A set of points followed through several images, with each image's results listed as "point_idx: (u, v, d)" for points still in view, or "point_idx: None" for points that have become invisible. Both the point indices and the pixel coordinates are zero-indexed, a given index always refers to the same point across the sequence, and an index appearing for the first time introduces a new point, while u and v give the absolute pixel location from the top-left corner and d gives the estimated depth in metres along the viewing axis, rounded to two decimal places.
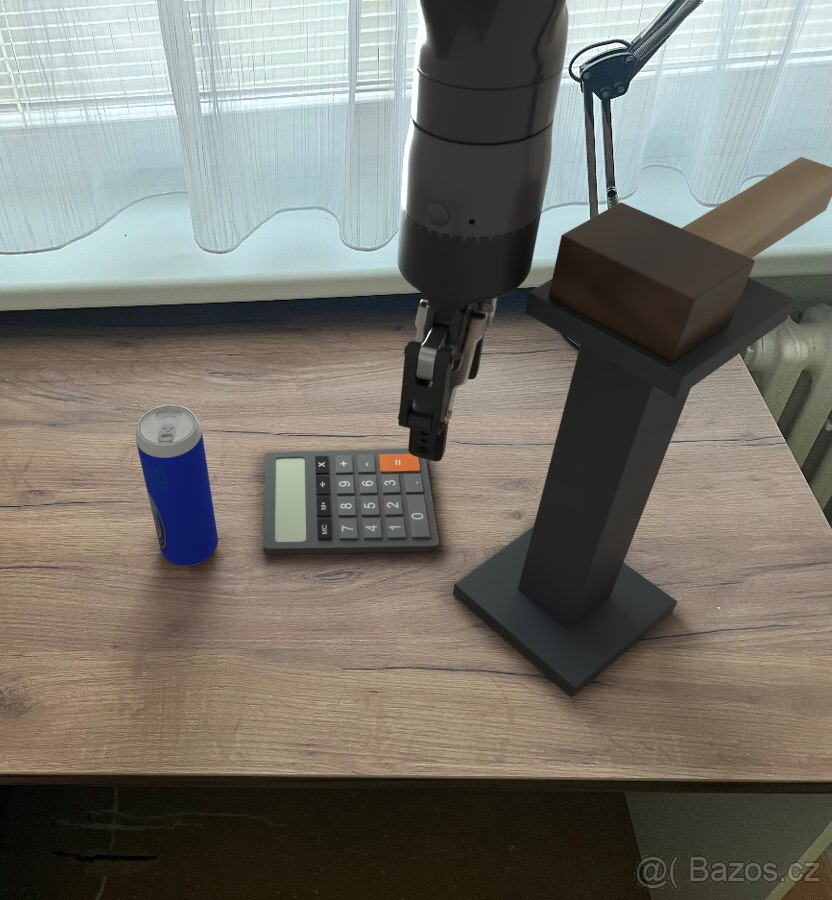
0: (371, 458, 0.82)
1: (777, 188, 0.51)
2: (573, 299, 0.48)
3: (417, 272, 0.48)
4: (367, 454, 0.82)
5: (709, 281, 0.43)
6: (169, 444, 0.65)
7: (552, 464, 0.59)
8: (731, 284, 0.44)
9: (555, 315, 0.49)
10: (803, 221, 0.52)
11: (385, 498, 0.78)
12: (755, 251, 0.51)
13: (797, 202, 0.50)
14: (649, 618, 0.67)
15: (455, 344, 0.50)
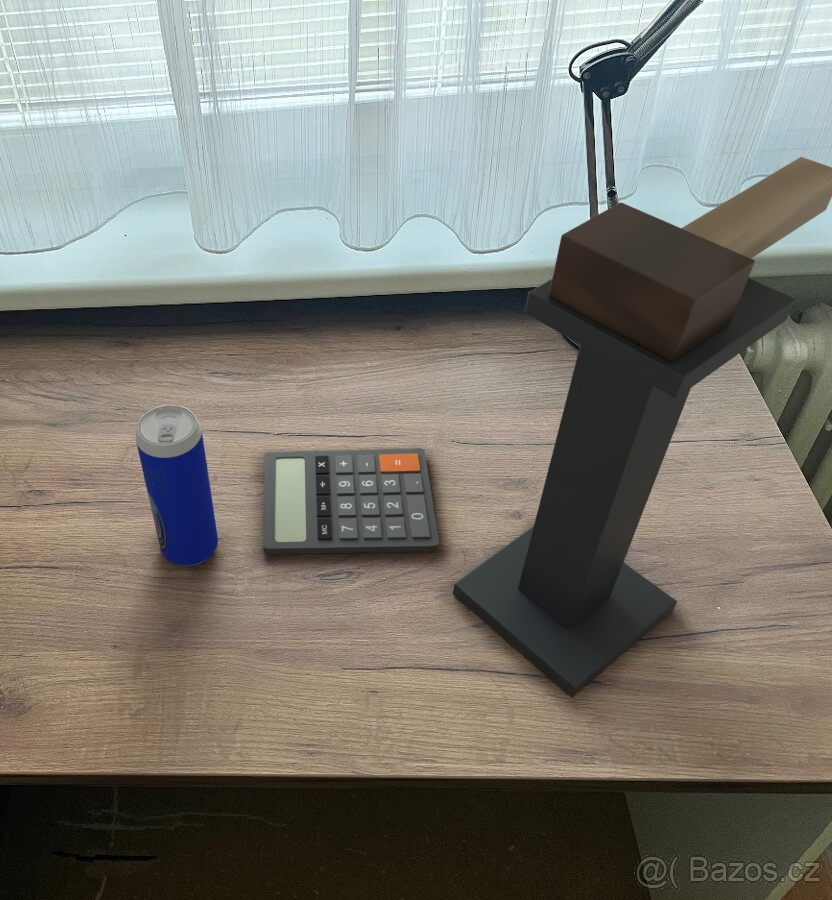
0: (371, 458, 0.82)
1: (777, 188, 0.51)
2: (573, 299, 0.48)
3: None
4: (367, 454, 0.82)
5: (709, 281, 0.43)
6: (169, 444, 0.65)
7: (552, 464, 0.59)
8: (731, 284, 0.44)
9: (555, 315, 0.49)
10: (803, 221, 0.52)
11: (385, 498, 0.78)
12: (755, 251, 0.51)
13: (797, 202, 0.50)
14: (649, 618, 0.67)
15: None
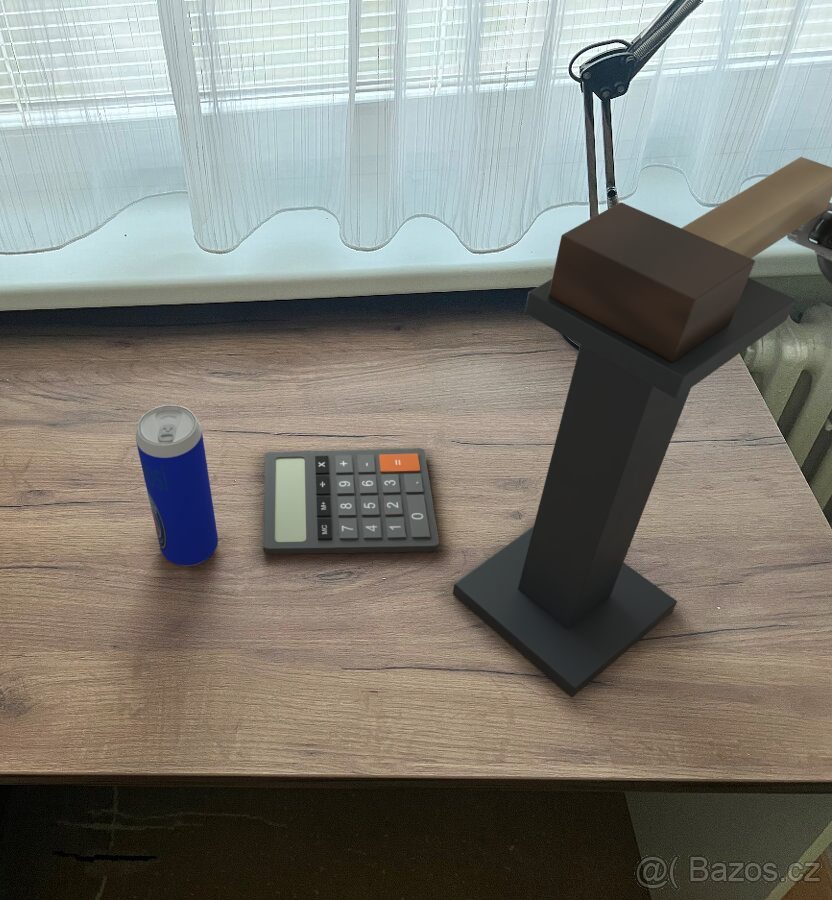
0: (371, 458, 0.82)
1: (777, 188, 0.51)
2: (573, 299, 0.48)
3: None
4: (367, 454, 0.82)
5: (709, 281, 0.43)
6: (169, 444, 0.65)
7: (552, 464, 0.59)
8: (731, 284, 0.44)
9: (555, 315, 0.49)
10: (803, 221, 0.52)
11: (385, 498, 0.78)
12: (755, 251, 0.51)
13: (797, 202, 0.50)
14: (649, 618, 0.67)
15: None
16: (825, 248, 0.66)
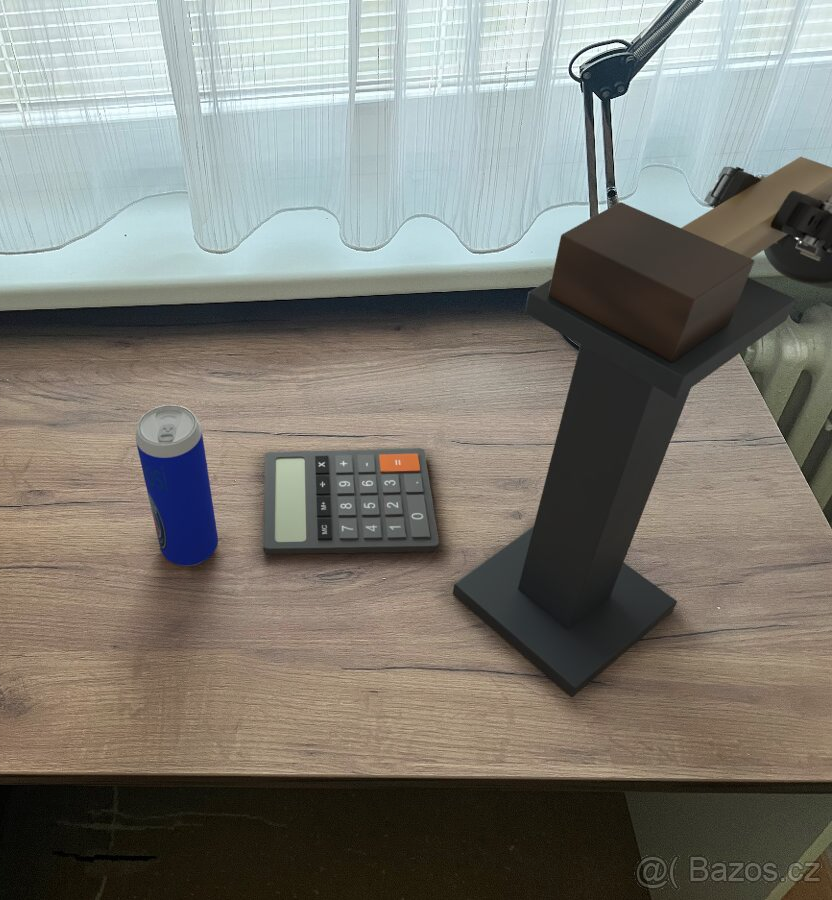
0: (371, 458, 0.82)
1: (776, 188, 0.51)
2: (573, 299, 0.48)
3: None
4: (367, 454, 0.82)
5: (708, 281, 0.43)
6: (169, 444, 0.65)
7: (552, 464, 0.59)
8: (730, 284, 0.44)
9: (555, 315, 0.49)
10: None
11: (385, 498, 0.78)
12: (755, 251, 0.51)
13: None
14: (649, 618, 0.67)
15: None
16: None
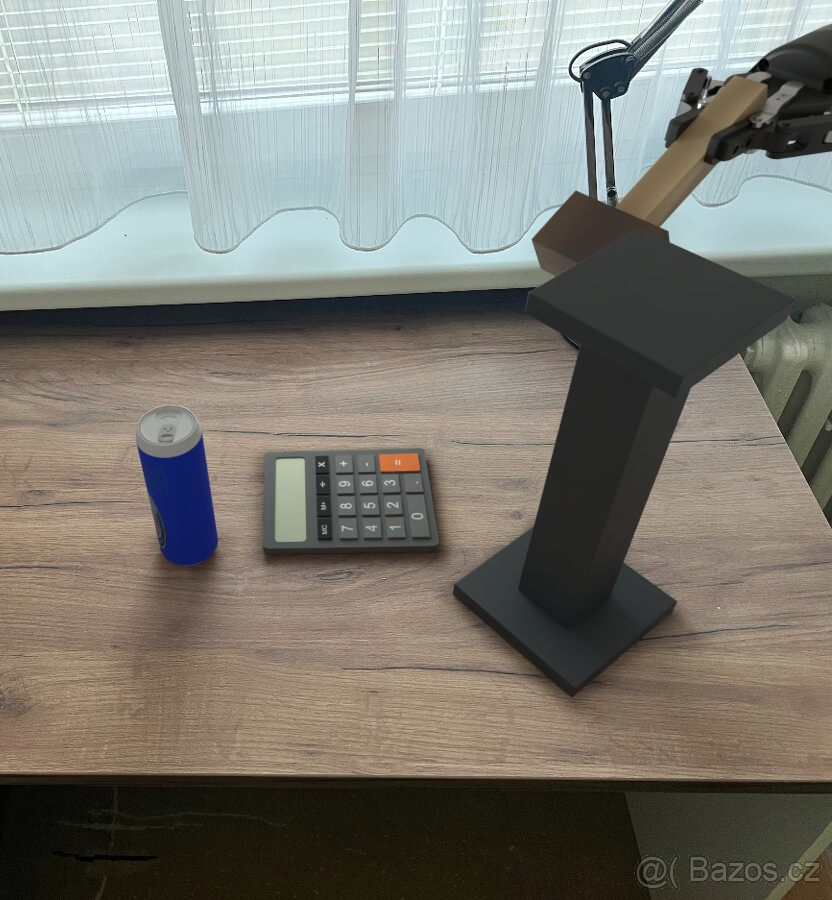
0: (371, 458, 0.82)
1: (708, 123, 0.65)
2: (555, 272, 0.68)
3: None
4: (367, 454, 0.82)
5: None
6: (169, 444, 0.65)
7: (552, 464, 0.59)
8: None
9: (555, 315, 0.49)
10: None
11: (385, 498, 0.78)
12: (698, 181, 0.66)
13: None
14: (649, 618, 0.67)
15: (727, 79, 0.70)
16: None
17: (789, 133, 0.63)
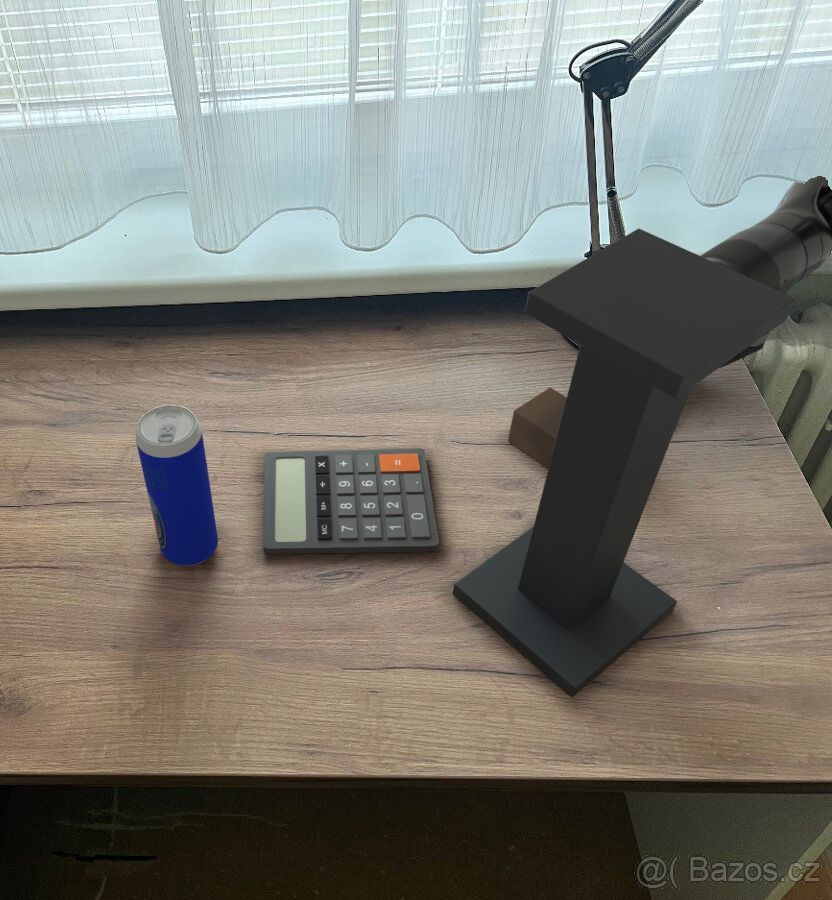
0: (371, 458, 0.82)
1: None
2: (521, 445, 0.82)
3: None
4: (367, 454, 0.82)
5: None
6: (169, 444, 0.65)
7: (552, 464, 0.59)
8: None
9: (555, 315, 0.49)
10: None
11: (385, 498, 0.78)
12: None
13: None
14: (649, 618, 0.67)
15: None
16: None
17: None
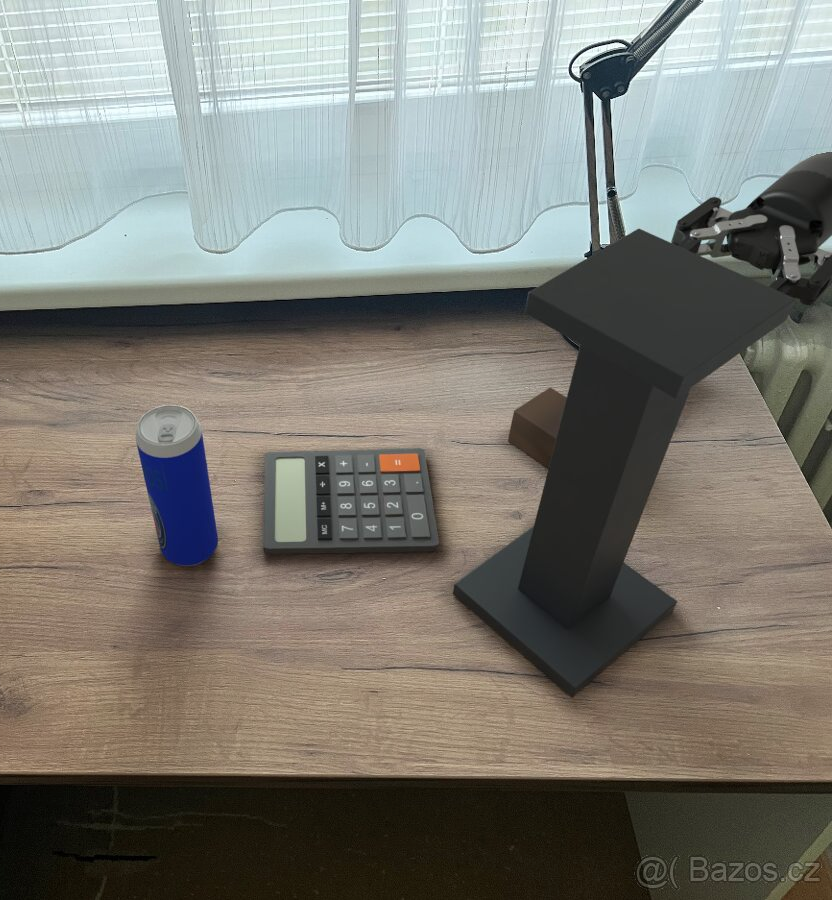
0: (371, 458, 0.82)
1: None
2: (521, 445, 0.82)
3: None
4: (367, 454, 0.82)
5: None
6: (169, 444, 0.65)
7: (552, 464, 0.59)
8: None
9: (555, 315, 0.49)
10: None
11: (385, 498, 0.78)
12: None
13: None
14: (649, 618, 0.67)
15: (731, 216, 0.86)
16: None
17: (821, 287, 0.79)
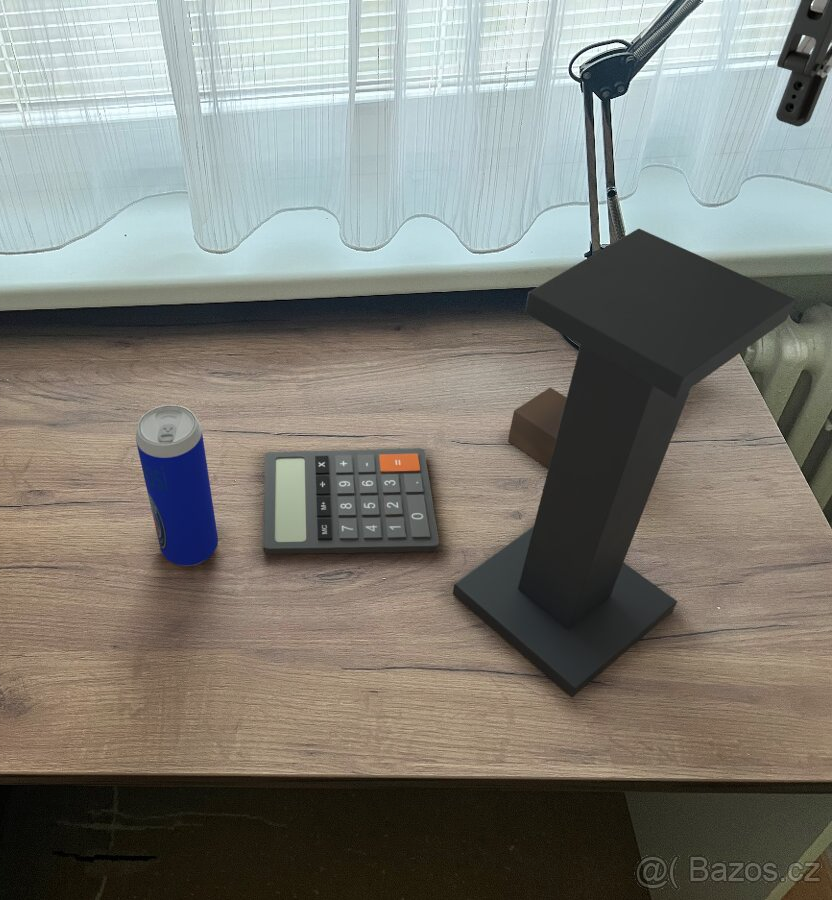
0: (371, 458, 0.82)
1: None
2: (521, 445, 0.82)
3: None
4: (367, 454, 0.82)
5: None
6: (169, 444, 0.65)
7: (552, 464, 0.59)
8: None
9: (555, 315, 0.49)
10: None
11: (385, 498, 0.78)
12: None
13: None
14: (649, 618, 0.67)
15: None
16: None
17: None
